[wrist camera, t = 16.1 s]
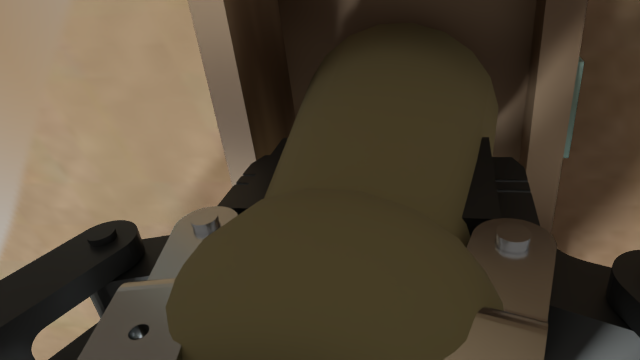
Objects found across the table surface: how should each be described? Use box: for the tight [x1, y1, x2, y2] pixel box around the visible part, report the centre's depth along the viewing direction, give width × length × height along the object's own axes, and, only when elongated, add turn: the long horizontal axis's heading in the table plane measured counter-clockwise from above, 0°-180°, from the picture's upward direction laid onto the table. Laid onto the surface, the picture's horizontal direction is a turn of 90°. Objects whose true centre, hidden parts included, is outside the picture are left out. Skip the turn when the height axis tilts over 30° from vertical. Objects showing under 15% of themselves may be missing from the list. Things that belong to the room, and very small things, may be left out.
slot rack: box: [188, 0, 588, 234], centre depth 17 cm, size 22×10×5 cm, turn 7°
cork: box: [166, 23, 504, 360], centre depth 10 cm, size 6×6×11 cm
